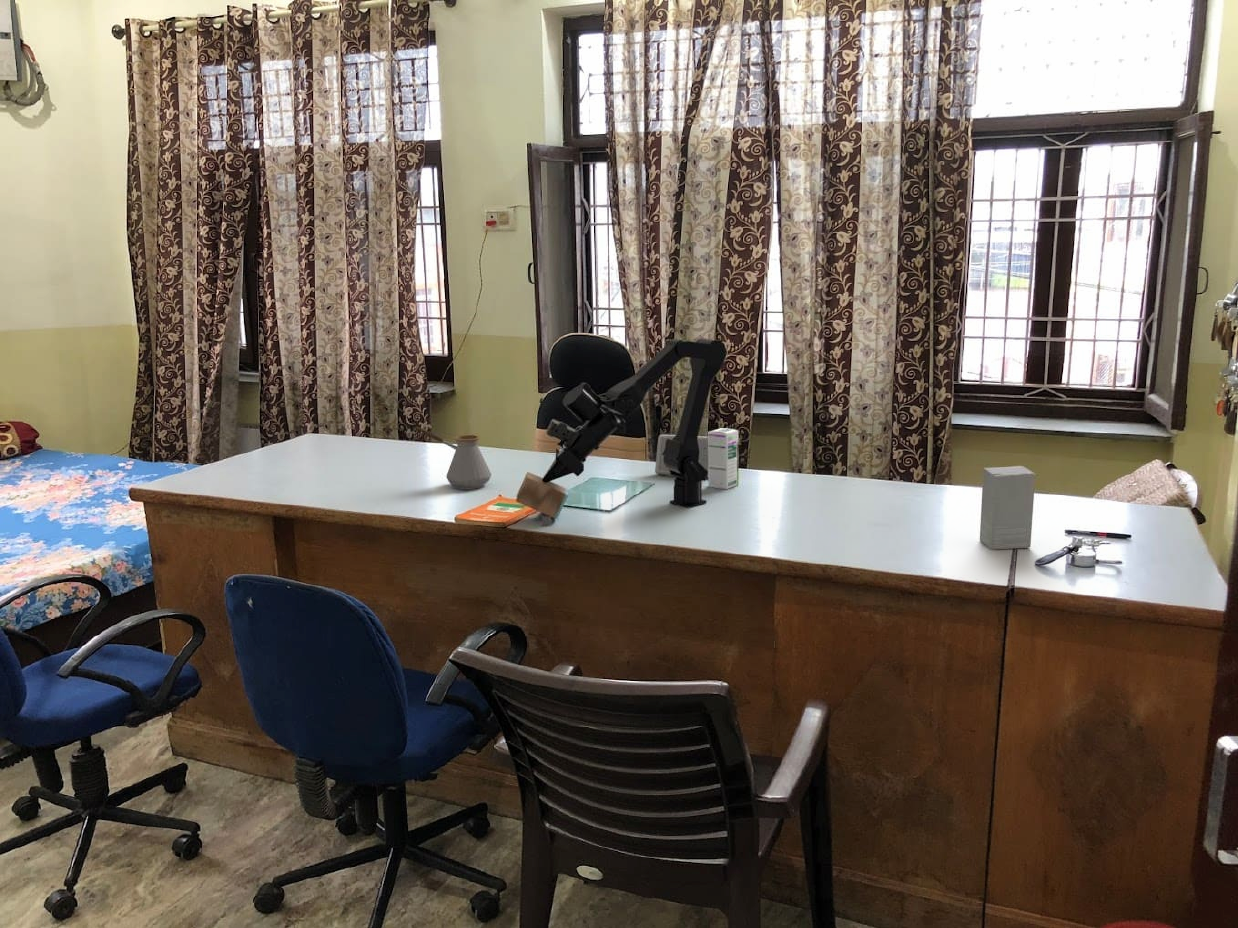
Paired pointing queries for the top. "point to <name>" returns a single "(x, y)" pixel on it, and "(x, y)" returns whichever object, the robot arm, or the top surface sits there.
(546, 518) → the grey thin bar
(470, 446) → the coffee pot
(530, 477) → the walnut block
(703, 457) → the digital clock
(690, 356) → the robot arm
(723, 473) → the syrup box
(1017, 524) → the skincare box
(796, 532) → the top surface
